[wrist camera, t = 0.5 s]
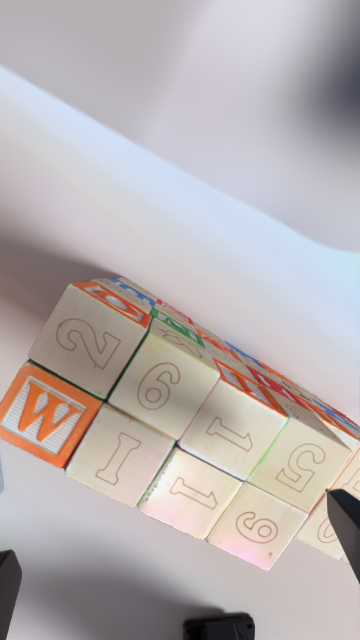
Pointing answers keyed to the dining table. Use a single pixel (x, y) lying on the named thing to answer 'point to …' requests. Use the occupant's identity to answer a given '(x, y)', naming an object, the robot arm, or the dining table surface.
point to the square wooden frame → (1, 480)
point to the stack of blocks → (180, 424)
